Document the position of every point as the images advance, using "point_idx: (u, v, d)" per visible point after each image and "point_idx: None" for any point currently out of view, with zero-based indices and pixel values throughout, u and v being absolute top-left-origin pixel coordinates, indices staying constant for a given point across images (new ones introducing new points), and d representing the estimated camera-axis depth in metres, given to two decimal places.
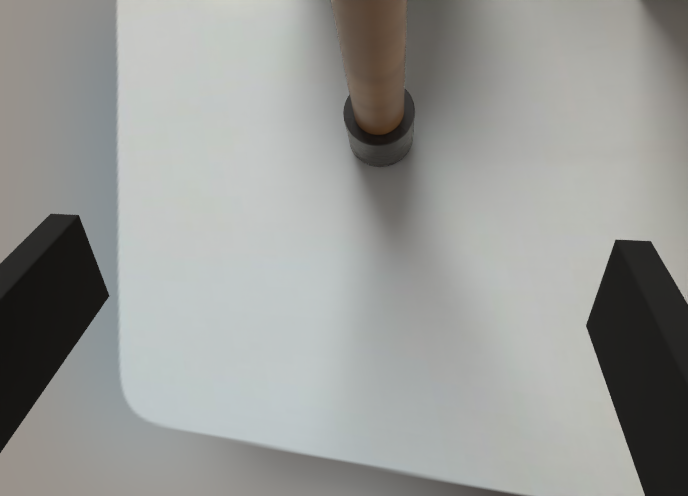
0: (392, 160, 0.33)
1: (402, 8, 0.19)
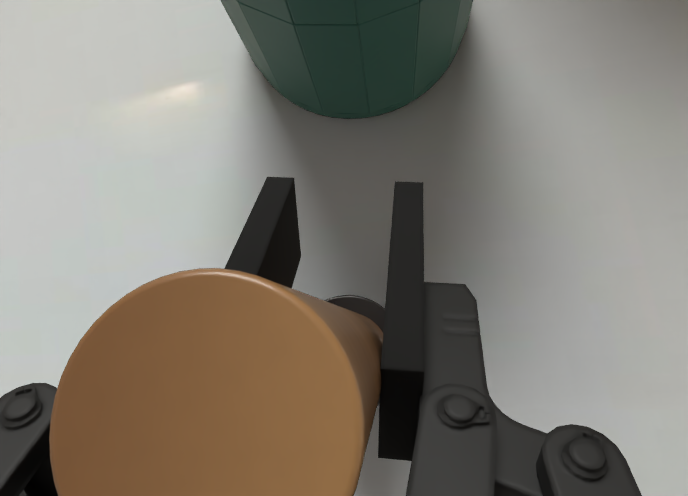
0: None
1: None
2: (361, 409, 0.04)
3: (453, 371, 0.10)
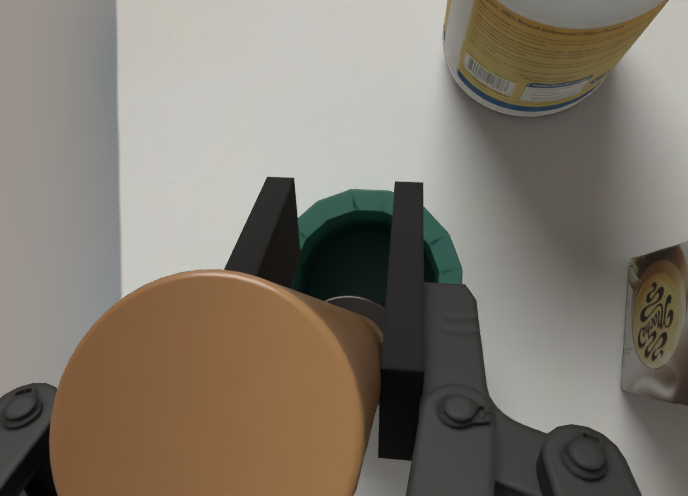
0: None
1: None
2: (361, 410, 0.04)
3: (454, 371, 0.10)
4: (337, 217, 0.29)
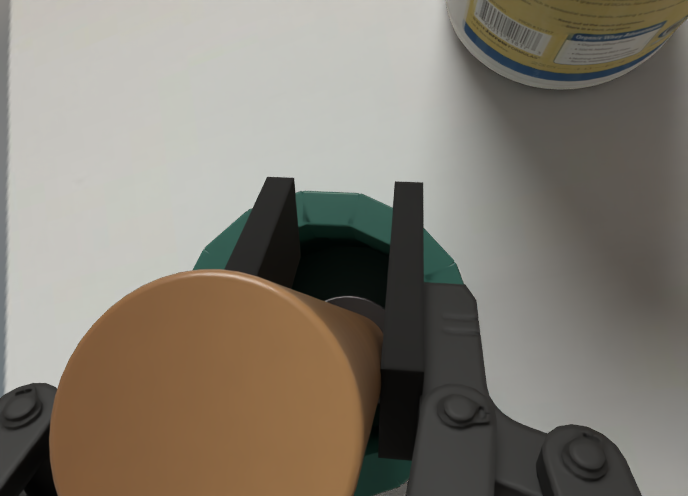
0: None
1: None
2: (361, 410, 0.04)
3: (453, 371, 0.10)
4: None
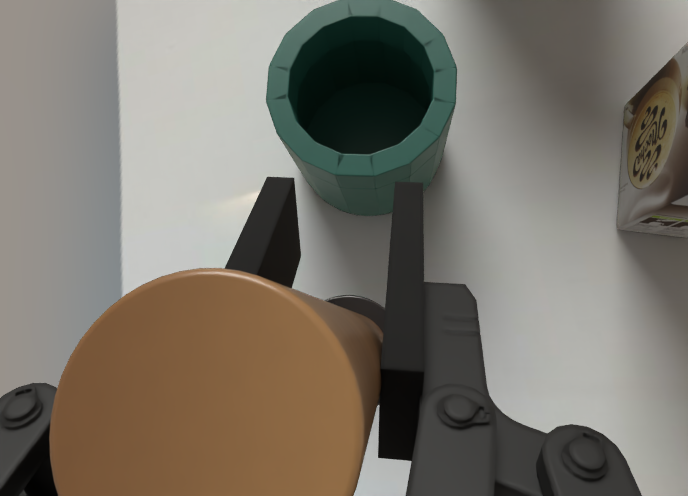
0: None
1: None
2: (361, 409, 0.04)
3: (453, 371, 0.10)
4: (332, 25, 0.29)
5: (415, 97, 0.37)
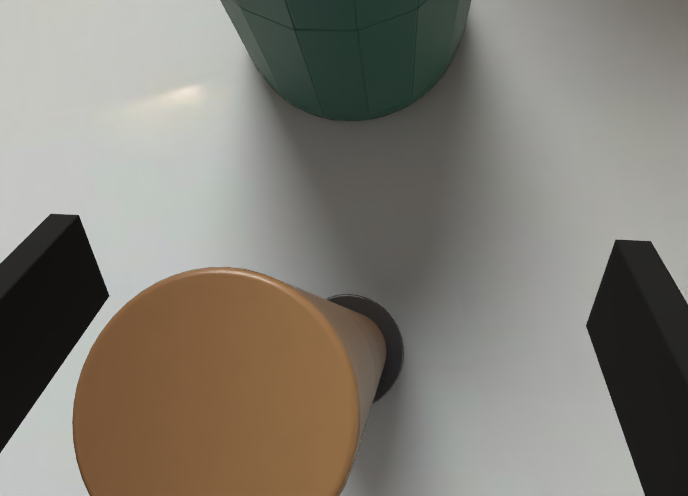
0: None
1: None
2: (357, 395, 0.05)
3: None
4: None
5: None
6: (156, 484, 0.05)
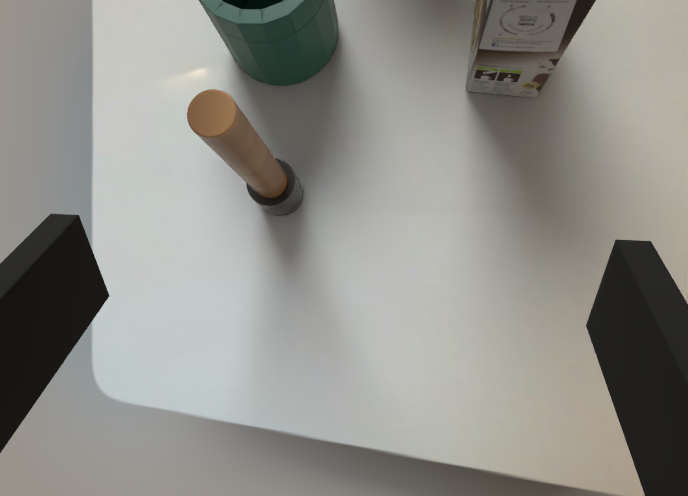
0: (286, 212, 0.46)
1: (248, 143, 0.32)
2: (236, 108, 0.29)
3: None
4: None
5: None
6: (202, 124, 0.29)
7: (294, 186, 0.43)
